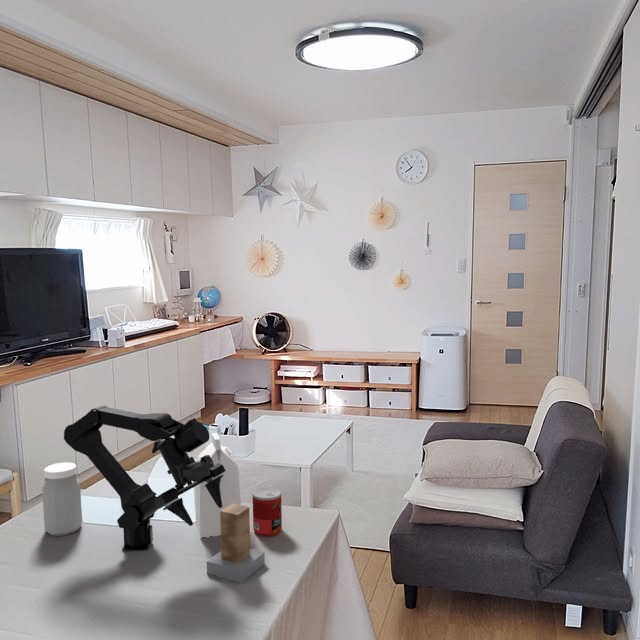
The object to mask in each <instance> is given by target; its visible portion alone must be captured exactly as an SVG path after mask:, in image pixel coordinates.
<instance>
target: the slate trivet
mask: <svg viewBox="0 0 640 640" xmlns="http://www.w3.org/2000/svg"><path fill="white" fill-rule="evenodd" d="M265 563H266V562H265V551H261V550H257V549H253V548H250V555H249V556H248V557H246V558H245V559H244V560H242V561H241V562H240V563H239V564H238V563H235V562H231V561H227V560H223V559H221V550H219V551H218V552H217V553H216V554H215V555H213V556H212V557H210V558H209V559H208V560H207V561H206V574H208V573H209V574H208V575H211V574H213V575H212V576H215V575H216V576H215V577H218V576H219V578H222V579H226V580H230V581H233V582H236V583H240V584H242V583H244V582H245V581H246V580H247V579H249V577H250V576H252V575H253V574H254V573H255V572H257V571H258V570H259V569H260V568H261V567H263V566H264V565H265Z"/></svg>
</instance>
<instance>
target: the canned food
mask: <svg viewBox="0 0 640 640" xmlns="http://www.w3.org/2000/svg"><path fill="white" fill-rule="evenodd" d="M282 513H283V512H282V491H281V490H280V489H278V488H274V487H261V488H257V489H254V490H253V492H252V525H253V526H252V527H253V528H252V529H253V532H254V534H255V535H257V536H260V537H267V538H269V537H273V536H277V535H279V534H280V533H281V531H282V529H283V525H282V524H283V521H282V519H283V517H282Z"/></svg>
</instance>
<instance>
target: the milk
mask: <svg viewBox="0 0 640 640" xmlns="http://www.w3.org/2000/svg"><path fill="white" fill-rule="evenodd" d="M205 455H209V456H210V457H211V459H212V460H213V463H214V465H216V464H217V463H220V464H222V465H223V466H224V468H225V470H226V471H225V472H223V473H222V474H220V476H221V475H223V477H222V478H221V481H220V494H221V501H222V507H221V508H219V507H218V506H217V505H216V503H215V501H214V500H213V498H212V497H211V495H210V493H209V492H208V490H207V488H206V487H205V485H206V484H207V482H205V481H204V482H202V483H200V484H199V485H197V486H195V506H196V521H195V525H196V527H197V532H199V533H198V536H200V537H199V539H203V538H202V537H206V538H211V537H210V536H213V537H220V536H221V526H220V511H221V510H223V509H224V508H226V507H227V506H229V505H231V504H237V505H241V491H240V490H241V487H240V474H239V473H240V471H239V464H238V462H237V460H236V459H235V456H234V455H233V452H232V450H231V449H230V448H229V447H228V446H227V445H226V446H224V445H222V444H221V439H220V436H219V435H218V433H217V432H215V433H211V442H210V443H209V444H208V445H207V446H206V447H205V448H204V449H203V450H202V451H201V452H200V453H199V454H198V456H197V457H196V460H195V461H196V462H198V461H200V459H201V457H203V456H205ZM219 535H220V536H219Z"/></svg>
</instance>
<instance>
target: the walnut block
mask: <svg viewBox="0 0 640 640" xmlns="http://www.w3.org/2000/svg"><path fill="white" fill-rule="evenodd" d="M220 526H221V535H220V551H221V559H223V560H227V561H231V562H235V563H238V564H239V563H240V562H241V561H242V560H244V559H245V558H246V557H248V556H249V555H250V549H251V531H250V530H251V529H250V528H251V526H250V506H246V505H237V504H231V505H229V506H227V507H226V508H224V509H223V510H221V511H220Z"/></svg>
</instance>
